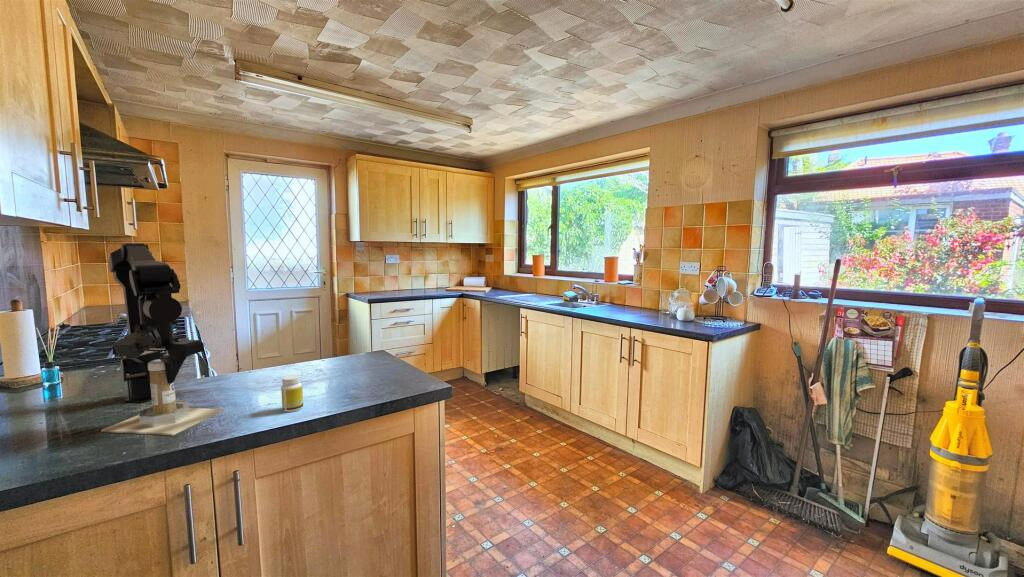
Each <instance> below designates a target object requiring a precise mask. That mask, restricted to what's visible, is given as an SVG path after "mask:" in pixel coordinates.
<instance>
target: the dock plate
mask: <svg viewBox="0 0 1024 577" xmlns="http://www.w3.org/2000/svg"><path fill="white" fill-rule="evenodd" d="M223 411H224V409H221V408H203V407H201V408H200V407H199V408H197V407H189V416H190V417H188V418H186V419H183V420H181V421H179V422H177V423H173V424H169V425H164V426H159V427H140V421H139V415H140V414H138V415H136V416H132V417H130V418H128V419H125V420H123V421H120V422H118V423H115V424H112V425H110V426H108V427H105V428H103V429H101V430H100V431H101V433H102V432H103V433H117V434H118V433H120V434H139V435H140V434H141V435H143V434H144V435H158V436H159V435H160V436H174V435H177V434H178V433H181V432H182V431H185V430H187V429H189V428H191V427H192V426H195V425H197V424H199V423H202V422H203V421H205V420H208V419H210V418H211V417H214V416H215V415H217V414H219V413H221V412H223Z"/></svg>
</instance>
